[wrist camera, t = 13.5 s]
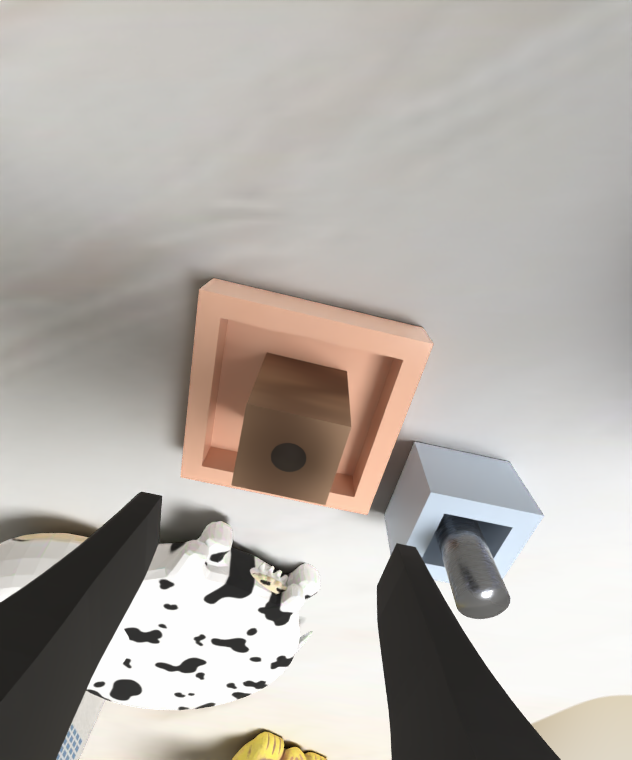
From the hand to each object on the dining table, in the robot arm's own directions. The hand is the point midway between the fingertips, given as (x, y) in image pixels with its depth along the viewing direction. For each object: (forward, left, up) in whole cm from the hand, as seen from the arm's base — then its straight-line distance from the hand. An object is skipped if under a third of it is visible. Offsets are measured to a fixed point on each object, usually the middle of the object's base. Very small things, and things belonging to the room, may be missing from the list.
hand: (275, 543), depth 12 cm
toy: (+7, +18, -10) cm, 22 cm away
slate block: (-9, +4, -10) cm, 14 cm away
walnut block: (0, 0, -9) cm, 9 cm away
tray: (0, 0, -10) cm, 10 cm away
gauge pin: (-9, +4, -10) cm, 14 cm away
